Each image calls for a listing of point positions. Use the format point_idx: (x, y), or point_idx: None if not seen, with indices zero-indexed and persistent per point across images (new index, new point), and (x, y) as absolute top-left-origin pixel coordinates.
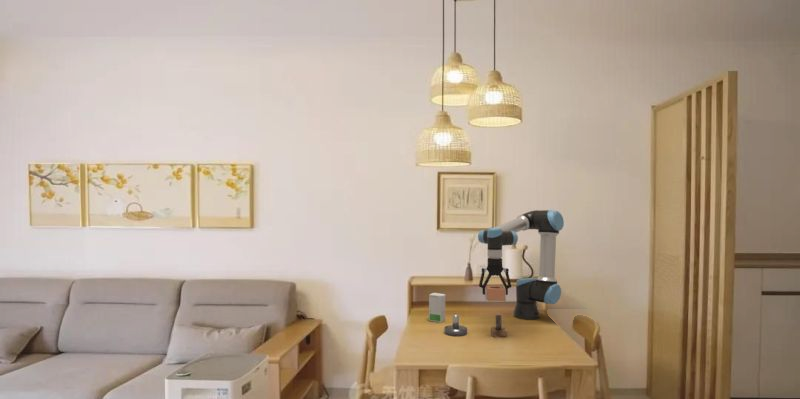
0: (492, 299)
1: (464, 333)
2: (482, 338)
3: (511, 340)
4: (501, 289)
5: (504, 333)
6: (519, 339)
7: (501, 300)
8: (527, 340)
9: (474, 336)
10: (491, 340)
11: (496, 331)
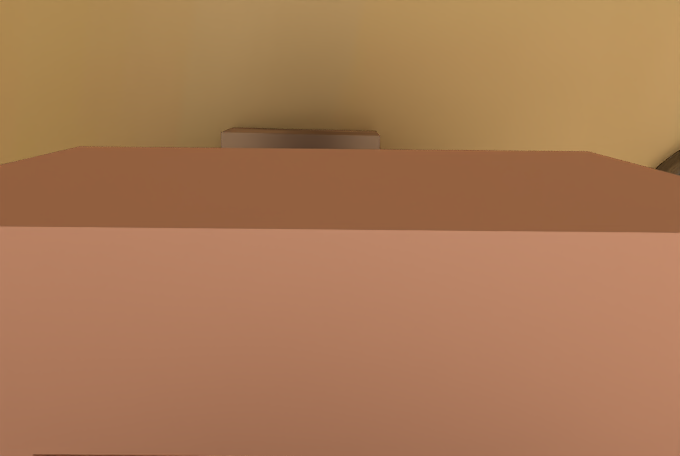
0: (453, 154)
1: (671, 168)
2: (490, 73)
3: (196, 21)
4: (6, 216)
5: (248, 130)
6: (108, 62)
7: (187, 148)
8: (28, 32)
9: (561, 139)
10: (407, 7)
11: (335, 134)
